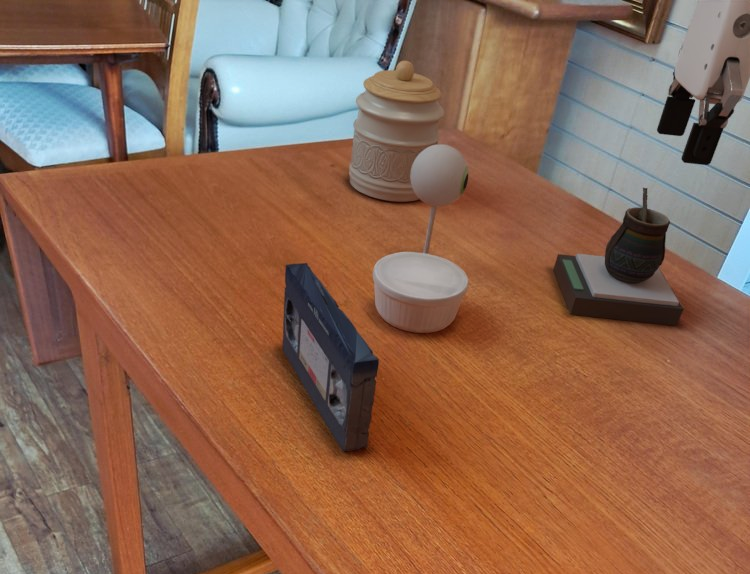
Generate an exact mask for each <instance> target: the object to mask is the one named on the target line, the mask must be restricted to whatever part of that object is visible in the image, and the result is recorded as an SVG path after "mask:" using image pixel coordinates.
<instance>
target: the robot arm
mask: <svg viewBox="0 0 750 574" xmlns="http://www.w3.org/2000/svg"><path fill="white" fill-rule="evenodd" d="M672 76H673V79H672V82H671V84H670V85H669V87H668V91H667V97H666V100H665V103H664V106H663V110H662V112H661V115H660V118H659V121H658V125H657V127H656V132H657V133H658V134H659V135H665V136H674V137H683V136H684V135H685V132H686V130H687V127H688V124H689V120H690V118H691V116H692V112H693V109H694V107H695V103H696V100H697V101H699V105H698V115H697V117H698V118H697V122H693V123H692V126H691V130H690V132H689V135H688V138H687V139H686V144H685V146H684V149H683V152H682V155H681V158H680V159H681V161H682V163H684V164H691V165H702V166H710V164H711V163H712V162H713V158H714V155H715V153H716V151H717V147H718V145H719V142H720V139H721V137H722V134H723V132H724V129H725V128H727V125H728V123H729V119H730V118H731V117H732V116H733V114H734V113H735V107H736V106H737V104H738V103H740V102H741V101H742V99H743V97H744V95H745V93H746V90H747V88H748V84H749V81H750V0H697V2H696V4H695V7H694V9H693V13H692V16H691V18H690V21H689V24H688V26H687V29H686V32H685V34H684V37H683V41H682V44H681V47H680V49H679V51H678V56H677V60H676V63H675V68H674V70H673V72H672ZM710 105H713V106H712V107H711V109H710Z"/></svg>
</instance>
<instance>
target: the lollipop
mask: <svg viewBox="0 0 750 574" xmlns="http://www.w3.org/2000/svg"><path fill="white" fill-rule="evenodd" d="M410 178H411V185H412V188H413V190H414V192H415V194H416V195H417V197H418V198H419V200H420V201H421V202H423V204H426V205H428V206H430V212H429V217H428V223H427V229H426V235H425V239H424V240H425V241H424V246H423V252H422V253H426V254H429V251H430V247H431V241H432V235H433V229H434V224H435V219H436V218H435V217H436V212H437V208H441V207H447V206H450V205H453V203H455V202H456V201H458V200H459V199H460V198H461V196H462V195H463V194H464V192H465V191H466V188H467V186H468V182H469V166H468V163H467V161H466V159H465V157H464V156H463V155H462V153H461V152H460V151H459V150H458V149H456V148H455V147H453V146H451V145H448V144H443V143H442V144H441V143H440V144H437V145H432V146H430V147H428V148H426V149H424V150H423V151H422V152H421V153H420V154H419V155H418V156H417V157H416V159H415V160H414V162H413V164H412V168H411V175H410Z"/></svg>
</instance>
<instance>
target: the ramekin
mask: <svg viewBox="0 0 750 574" xmlns="http://www.w3.org/2000/svg"><path fill="white" fill-rule="evenodd" d="M372 280H373V283H374V284H373V285H374V305H375V309H376V312H377V313H378V315H379V316H380V317H381V319H383V321H384V322H386V323H387V324H389V325H390V326H391V327H394V328H396V329H399V330H402V331H405V332H410V333H414V334H415V333H416V334H430V333H435V332H439V331H442V330H444V329H445V328H447V327H448V326H450V325H451V324H452V323H453V321H454V320H455V319H456V316H457V314H458V312H459V309H460V307H461V304H462V302H463V299H464V297H465V296H466V294H467V292H468V289H469V277H468V274H467V273H466V272H465V271H464V269H462V268H461V266H459V265H458V264H456V263H454V262H452V261H451V260H449V259H446V258H444V257H443V256H442V257H441V256H438V255H434V254H431V253H428V254H426V253H423V252H417V251H399V252H394V253H390V254H387V255H385V256H383V257H381V258H380V259H379V260H377V261H376V262H375V264H374V266H373V270H372Z"/></svg>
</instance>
